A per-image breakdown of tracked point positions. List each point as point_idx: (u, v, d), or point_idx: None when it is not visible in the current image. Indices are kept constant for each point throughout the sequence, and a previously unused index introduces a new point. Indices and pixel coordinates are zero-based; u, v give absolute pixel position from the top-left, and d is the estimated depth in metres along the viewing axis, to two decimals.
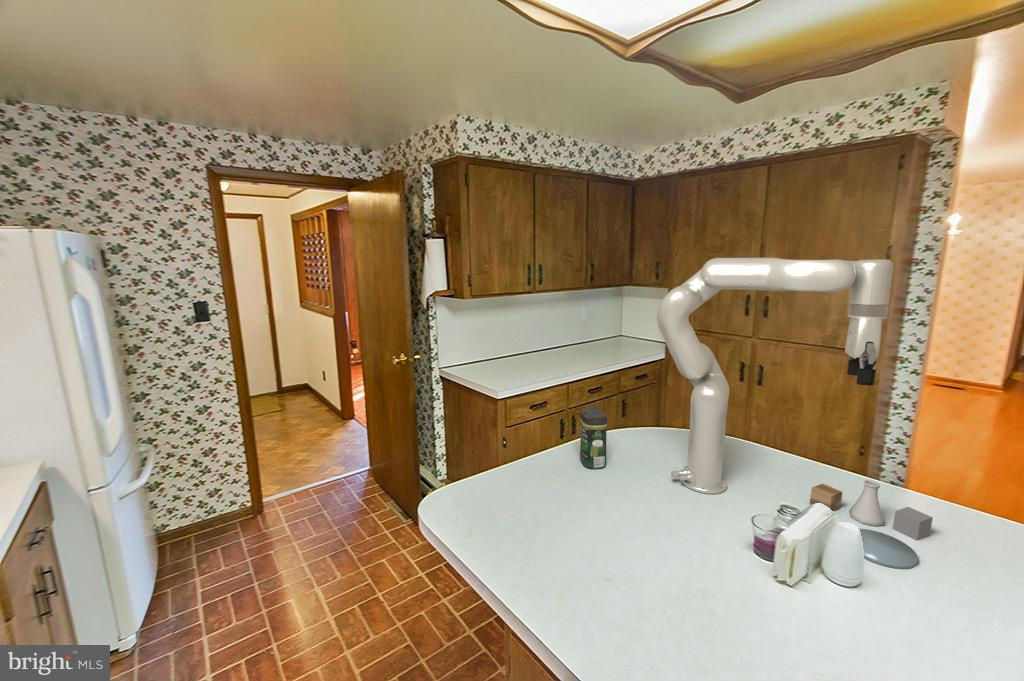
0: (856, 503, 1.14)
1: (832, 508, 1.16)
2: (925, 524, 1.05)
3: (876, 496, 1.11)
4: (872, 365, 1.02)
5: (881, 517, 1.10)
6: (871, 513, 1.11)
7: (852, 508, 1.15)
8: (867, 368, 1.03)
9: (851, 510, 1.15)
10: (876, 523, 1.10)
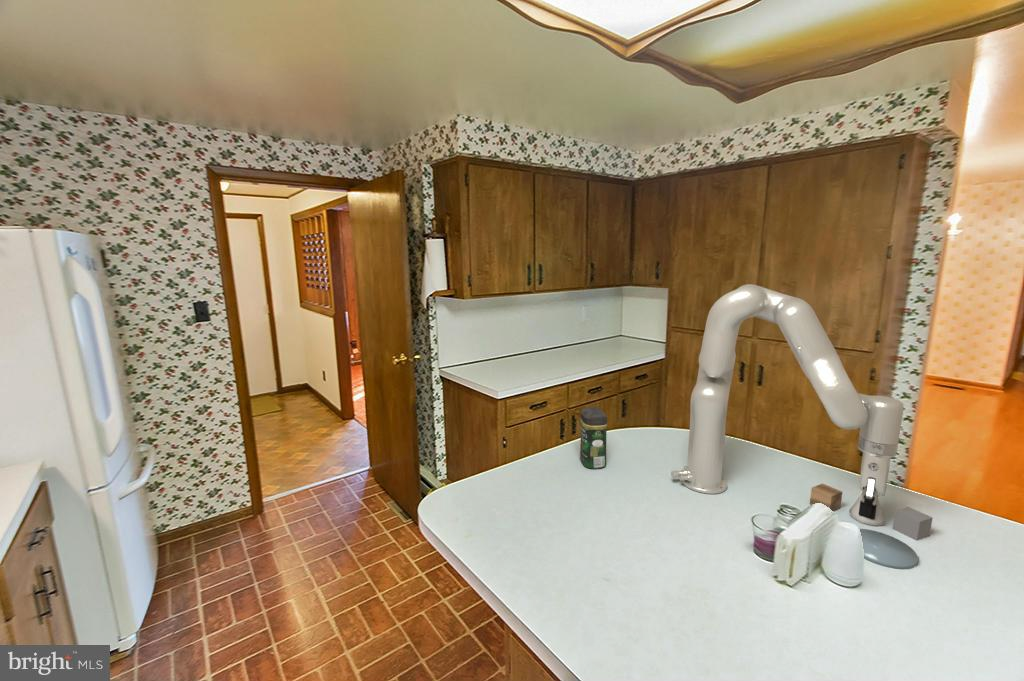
0: (856, 503, 1.14)
1: (832, 508, 1.16)
2: (925, 524, 1.05)
3: None
4: None
5: (881, 517, 1.10)
6: None
7: (852, 508, 1.15)
8: None
9: (851, 510, 1.15)
10: (876, 523, 1.10)
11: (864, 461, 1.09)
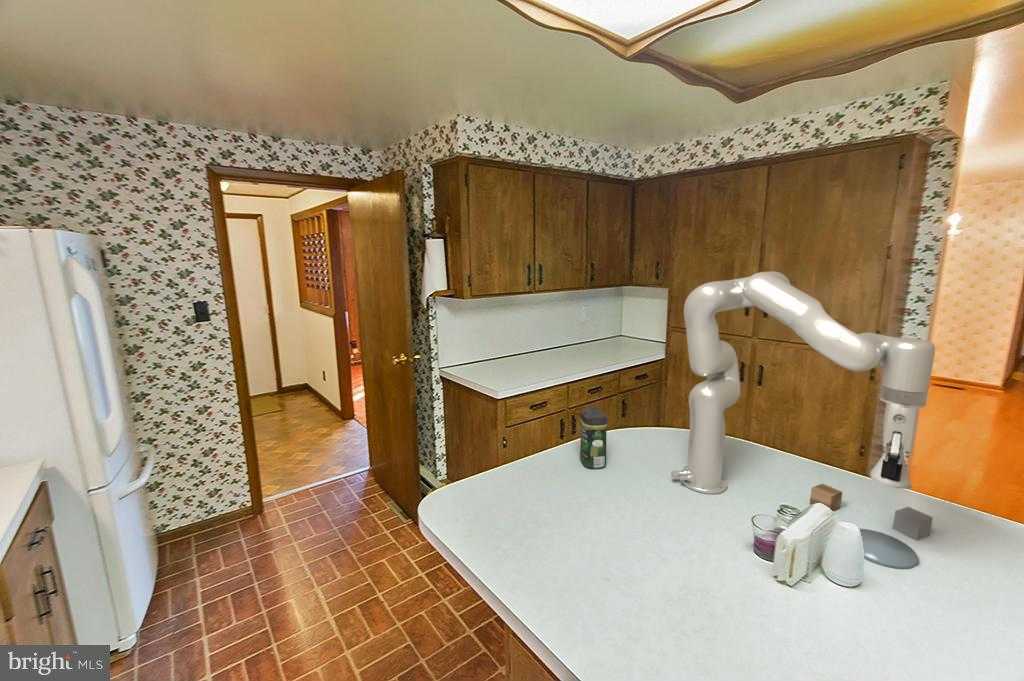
0: (878, 464, 0.99)
1: (832, 508, 1.16)
2: (925, 524, 1.05)
3: None
4: None
5: (907, 479, 0.95)
6: None
7: (873, 470, 1.00)
8: None
9: (872, 472, 1.00)
10: (902, 485, 0.95)
11: (888, 413, 0.94)
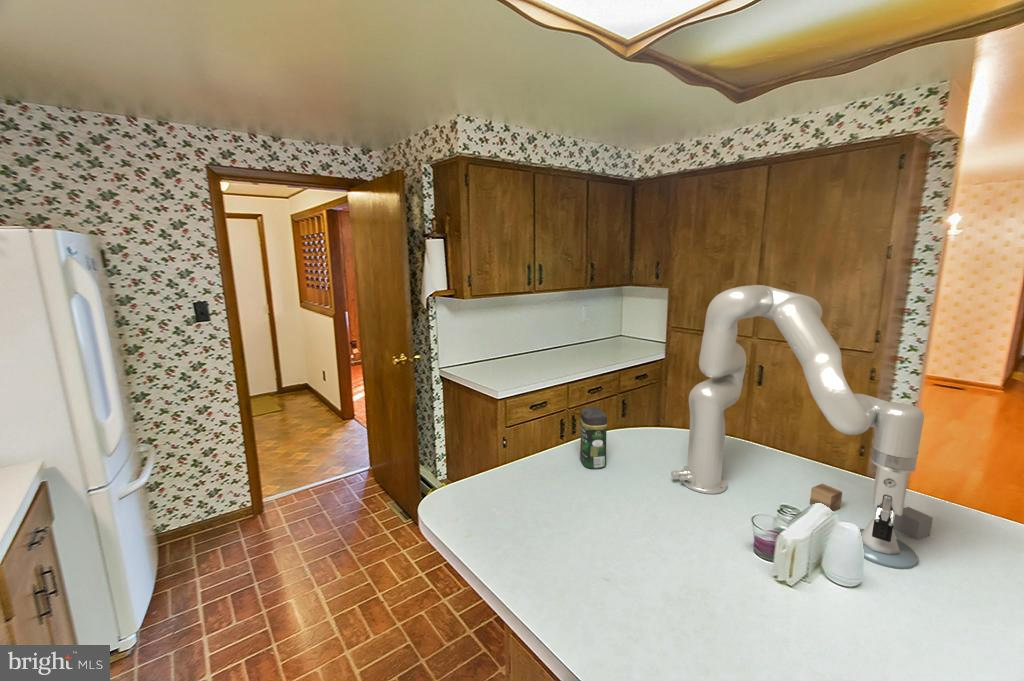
0: (867, 528, 1.02)
1: (832, 508, 1.16)
2: (925, 524, 1.05)
3: None
4: None
5: (896, 544, 0.98)
6: None
7: (863, 533, 1.03)
8: None
9: (862, 535, 1.03)
10: (890, 551, 0.98)
11: (879, 476, 0.96)
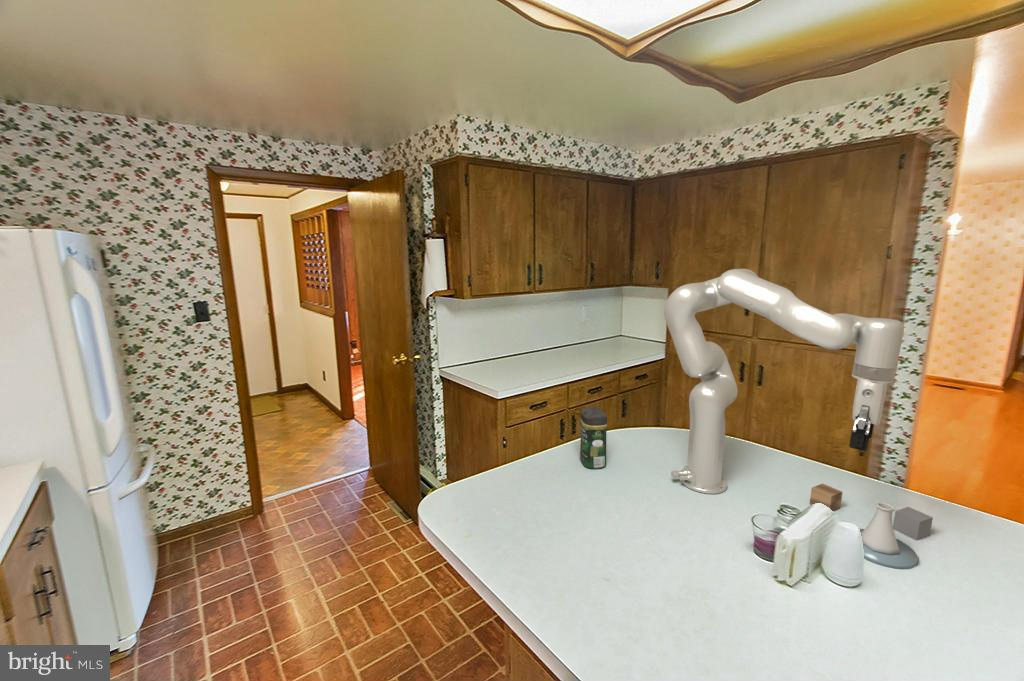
0: (867, 528, 1.02)
1: (832, 508, 1.16)
2: (925, 524, 1.05)
3: (890, 521, 0.99)
4: None
5: (896, 544, 0.98)
6: (884, 540, 0.99)
7: (863, 533, 1.03)
8: None
9: (862, 535, 1.03)
10: (890, 551, 0.98)
11: (858, 388, 0.99)
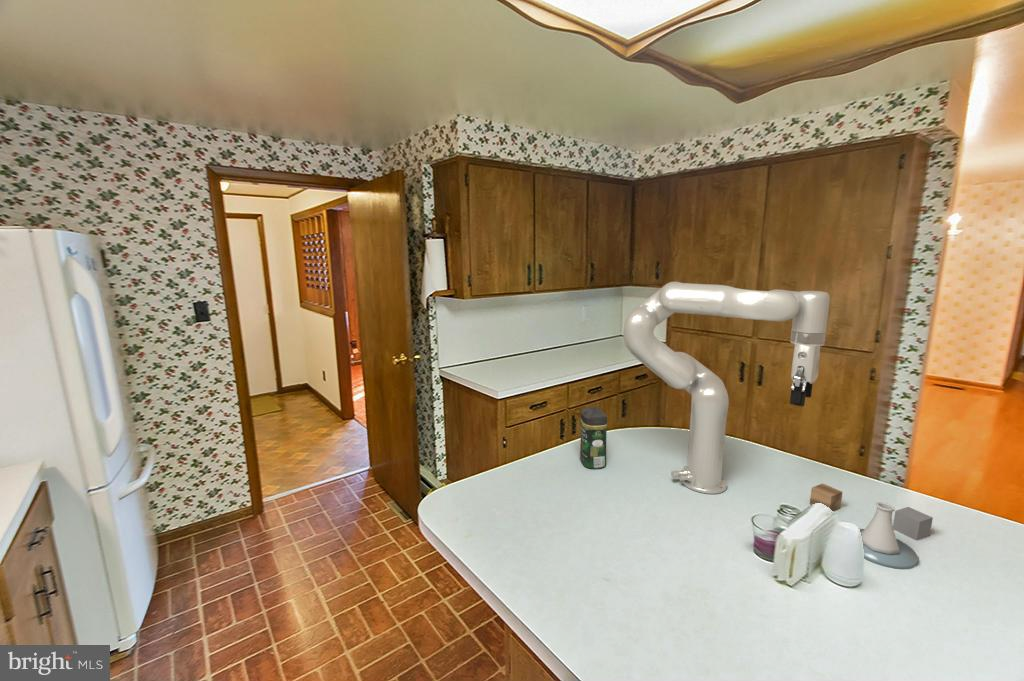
0: (867, 528, 1.02)
1: (832, 508, 1.16)
2: (925, 524, 1.05)
3: (890, 521, 0.99)
4: None
5: (896, 544, 0.98)
6: (884, 540, 0.99)
7: (863, 533, 1.03)
8: None
9: (862, 535, 1.03)
10: (890, 551, 0.98)
11: (794, 352, 1.15)
